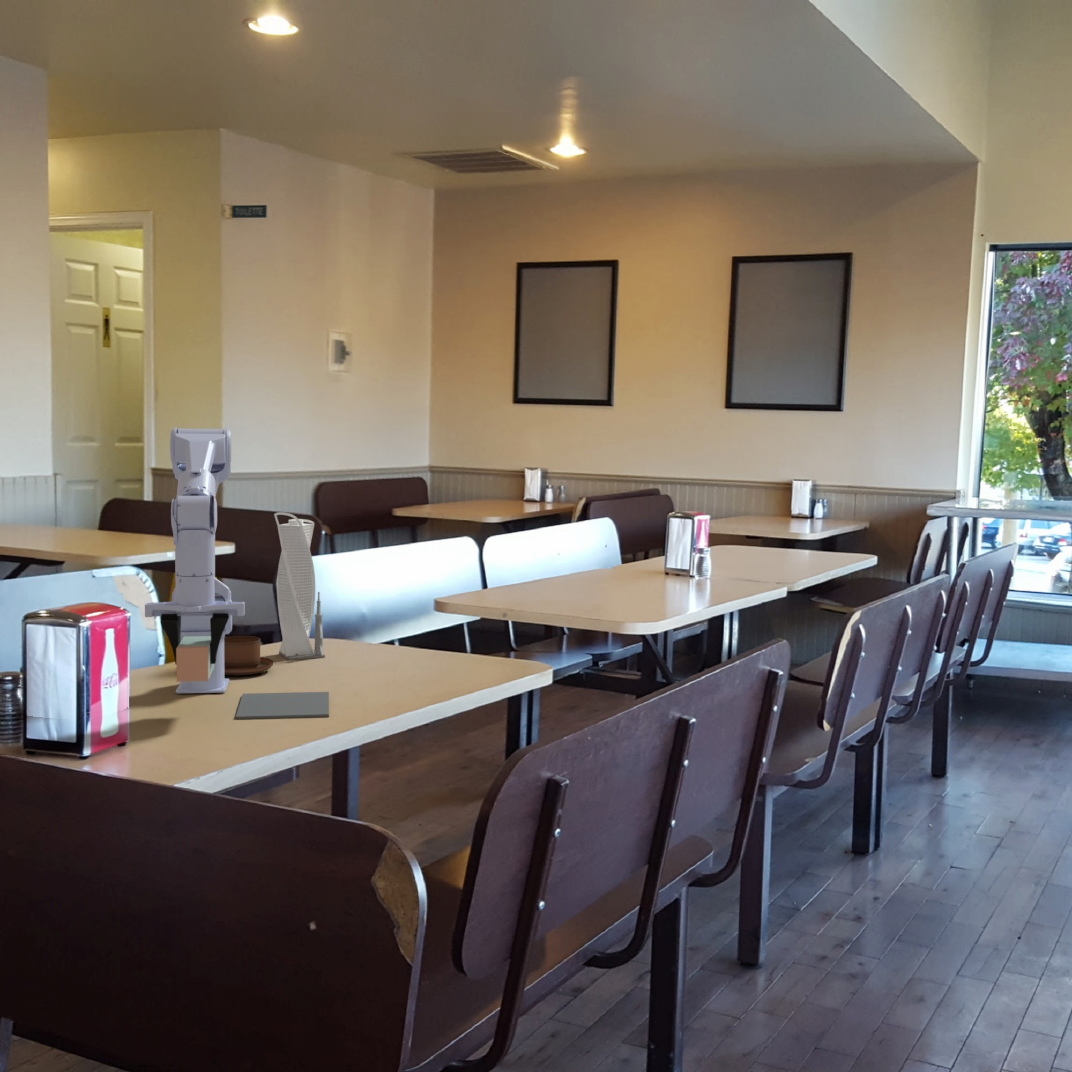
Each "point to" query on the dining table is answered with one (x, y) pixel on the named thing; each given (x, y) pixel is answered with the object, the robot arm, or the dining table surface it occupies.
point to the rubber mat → (283, 705)
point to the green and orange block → (194, 659)
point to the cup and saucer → (244, 656)
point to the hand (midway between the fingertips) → (195, 663)
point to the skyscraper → (297, 591)
